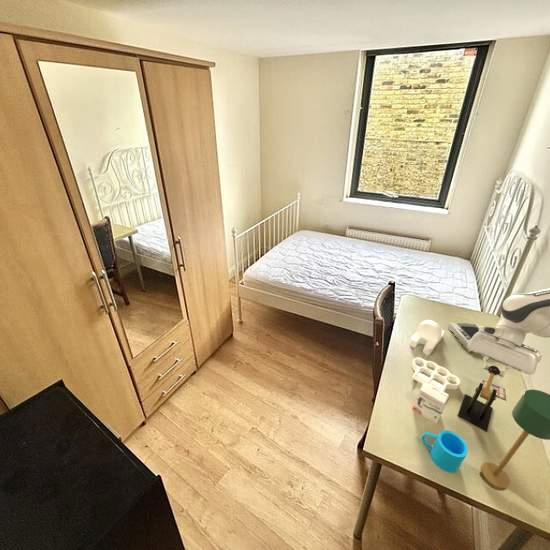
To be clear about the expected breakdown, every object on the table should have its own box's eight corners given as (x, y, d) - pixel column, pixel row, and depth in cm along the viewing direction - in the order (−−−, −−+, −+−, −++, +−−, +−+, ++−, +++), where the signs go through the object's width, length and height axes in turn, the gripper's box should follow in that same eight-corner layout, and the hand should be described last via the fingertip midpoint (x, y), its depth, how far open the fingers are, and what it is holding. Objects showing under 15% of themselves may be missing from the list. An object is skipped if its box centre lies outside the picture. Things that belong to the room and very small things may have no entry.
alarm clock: (449, 322, 147) (481, 320, 147) (447, 329, 149) (478, 327, 149) (470, 346, 132) (506, 343, 132) (468, 354, 134) (503, 351, 134)
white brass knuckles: (403, 375, 120) (417, 357, 130) (449, 402, 110) (461, 381, 119) (405, 370, 119) (419, 352, 128) (452, 397, 108) (464, 375, 117)
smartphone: (504, 376, 121) (505, 374, 121) (504, 402, 110) (506, 400, 110) (482, 368, 125) (483, 366, 125) (479, 391, 114) (481, 389, 114)
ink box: (410, 411, 106) (419, 388, 100) (415, 402, 110) (424, 380, 104) (435, 426, 101) (446, 404, 95) (440, 416, 105) (450, 394, 99)
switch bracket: (463, 396, 112) (475, 373, 106) (491, 410, 107) (505, 386, 101) (456, 417, 104) (468, 393, 98) (485, 433, 99) (500, 409, 93)
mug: (461, 456, 92) (470, 441, 88) (456, 478, 87) (465, 463, 83) (421, 433, 99) (428, 418, 95) (414, 452, 93) (421, 436, 89)
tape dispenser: (408, 344, 137) (414, 326, 132) (423, 327, 148) (429, 310, 143) (429, 355, 131) (436, 337, 126) (443, 336, 142) (450, 319, 137)
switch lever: (488, 366, 108) (491, 362, 105) (499, 371, 106) (502, 367, 103) (477, 396, 102) (479, 392, 100) (488, 401, 100) (491, 398, 98)
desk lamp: (508, 470, 89) (563, 397, 73) (514, 500, 82) (577, 428, 66) (474, 456, 93) (519, 384, 76) (477, 484, 85) (528, 412, 69)
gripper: (540, 353, 103) (526, 389, 101) (474, 328, 115) (460, 359, 113) (546, 350, 98) (531, 388, 96) (476, 324, 109) (462, 357, 108)
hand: (492, 372), depth 105 cm, fingers closed on switch lever, 3 cm apart
